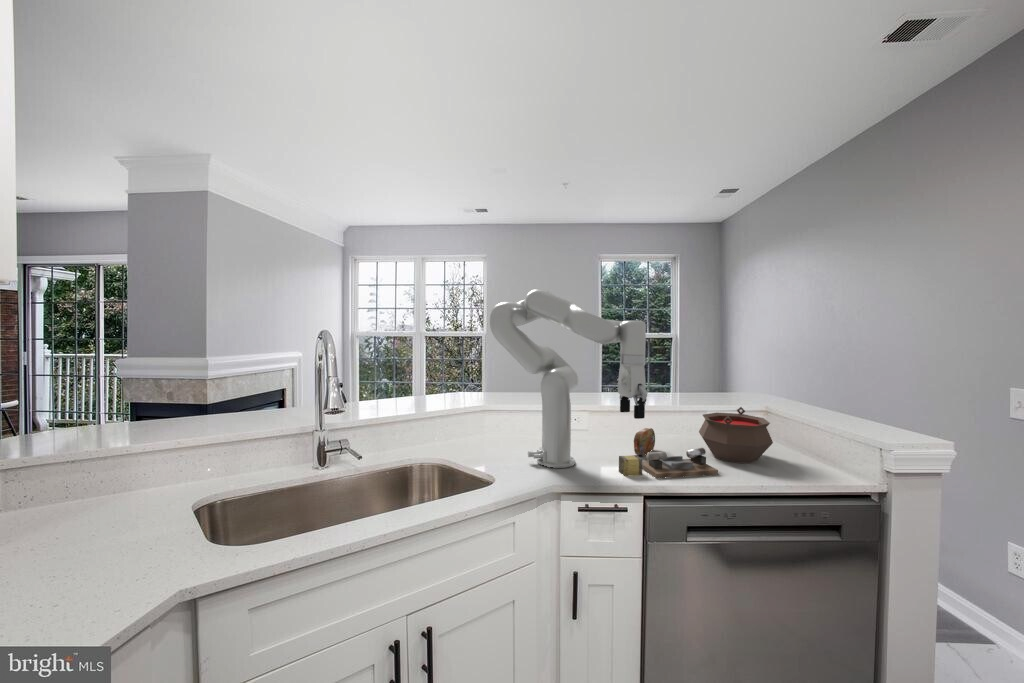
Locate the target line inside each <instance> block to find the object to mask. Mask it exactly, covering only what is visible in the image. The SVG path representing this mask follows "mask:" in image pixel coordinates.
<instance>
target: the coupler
mask: <svg viewBox="0 0 1024 683" xmlns="http://www.w3.org/2000/svg"><path fill="white" fill-rule="evenodd" d="M643 460H644V459H643V458H642V457H641V456H640V455H637V454H635V455H618V473H620V474H621V475H622V474H623V475H624V477H629V476H628V475H633V476H642V475H643V469H642V461H643ZM623 475H622V476H623ZM625 475H627V476H625Z"/></svg>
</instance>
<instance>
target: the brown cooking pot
mask: <svg viewBox="0 0 1024 683" xmlns="http://www.w3.org/2000/svg"><path fill="white" fill-rule="evenodd" d="M740 410H741V411H740ZM736 412H737V413H734V412H733V413H732V412H711V413H704V414H702V417H703V418H704V421H703V423H702V425H701V426H700V429H699V431H698V433H699V435H700V437H701V438H702V439H703V441H704V443H705V444H706V446H707V447H708V449H709V451H710V453H711V454H712V455H713V457H714V458H716V459H718V460H722V461H725V462H728V463H738V464H739V463H740V464H749V463H753V462H757V461H758V460H759V458H761V456H762V455H763V454H764V453H765V452H767V450H768V449H769V448H770V447H771V446H772V444H773V443H774V442H773V439H772V437H771V435H770V432H769V430H768V428H767V427H768V426H769V425H770V424H771V422H769V421H768V420H767V419H765V418H764V417H760V416H755V415H751V414H750V415H749V414H745V412H746V410H745V409H744V408H743V407H742V406H740V407H739V408H737V409H736Z"/></svg>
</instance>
